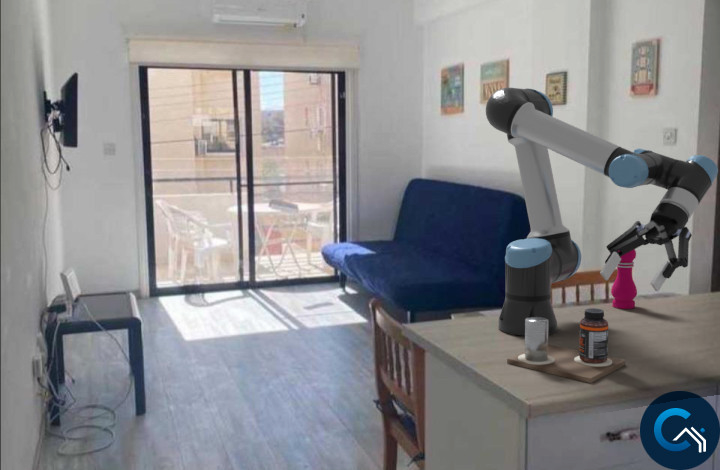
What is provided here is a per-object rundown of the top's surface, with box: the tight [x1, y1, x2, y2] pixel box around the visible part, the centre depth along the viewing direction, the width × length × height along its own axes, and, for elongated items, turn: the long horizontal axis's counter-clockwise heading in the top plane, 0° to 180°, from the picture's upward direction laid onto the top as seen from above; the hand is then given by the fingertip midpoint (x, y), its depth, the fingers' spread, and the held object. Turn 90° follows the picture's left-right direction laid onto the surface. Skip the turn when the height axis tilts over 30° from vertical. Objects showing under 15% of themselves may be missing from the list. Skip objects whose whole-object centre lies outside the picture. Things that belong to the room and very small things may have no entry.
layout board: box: [506, 343, 626, 384], centre depth 156 cm, size 20×16×1 cm
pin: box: [524, 317, 549, 362], centre depth 156 cm, size 5×5×9 cm
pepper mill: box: [610, 249, 638, 310], centre depth 207 cm, size 7×7×20 cm
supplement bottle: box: [578, 307, 609, 363], centre depth 154 cm, size 6×6×11 cm
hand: (627, 281), depth 158 cm, fingers open, 13 cm apart
